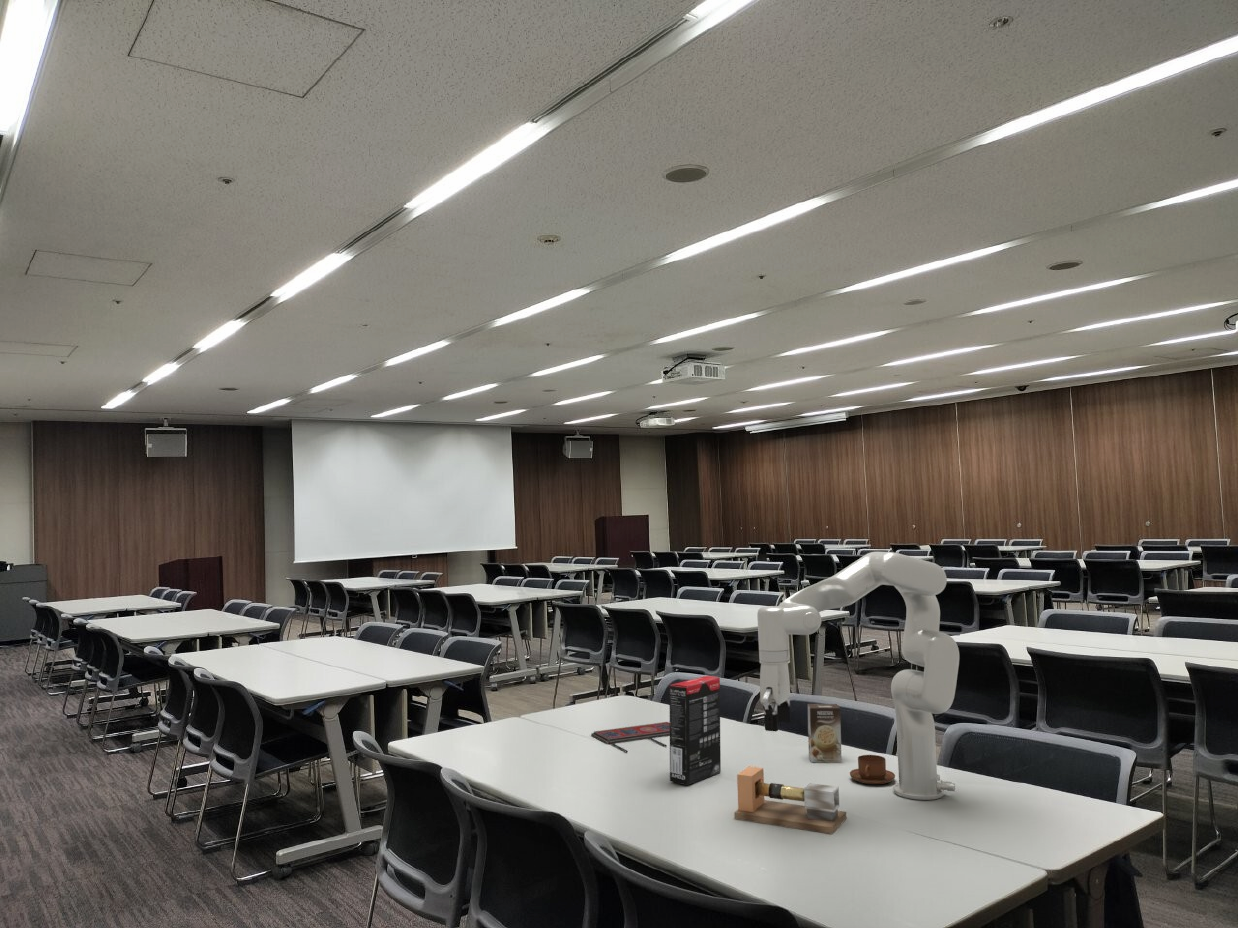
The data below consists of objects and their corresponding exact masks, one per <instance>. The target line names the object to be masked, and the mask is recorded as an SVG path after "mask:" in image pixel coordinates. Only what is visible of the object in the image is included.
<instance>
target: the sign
mask: <svg viewBox="0 0 1238 928" xmlns="http://www.w3.org/2000/svg"><path fill="white" fill-rule="evenodd" d="M667 736H669V737H670V721H669V722H668V721H662V722H655V723H647V724H641V725H632V726H625V727H624V726H623V727H617V728H611V729H604V730H596V731H595V730H594V731H593V732H592V733H591V735H590V737H592V738H594V739H597V740H598V741H600V742H603V743H604V744H606V745H612V746H613V747H616V748H618V749H620V750H621V751H623V752H625V753H628V750H627V749H625V748H624V747H621V746H619V745H617V743H619V744H620V743H625V742H634V741H641V740H647V739H649V740H650V741H653V742H655V743H657V744H658V745H659V744H660V745H661V746H663V747H666V748H667V747H668V745H667V744H665V743H663V742H661V741H659V740H657V739H655V738H661V737H667Z"/></svg>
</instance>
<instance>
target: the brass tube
mask: <svg viewBox="0 0 1238 928" xmlns="http://www.w3.org/2000/svg"><path fill="white" fill-rule="evenodd" d="M804 788H805V787H796V786H789V785H785V784H783V783H776V782H771V783H767V782H764V783H760V782H755V795H760V796H764V797H769V798H770V799H777V800H782V801H783V800H789V801H796V802H804V803H805V799H804Z"/></svg>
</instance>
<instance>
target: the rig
mask: <svg viewBox="0 0 1238 928" xmlns="http://www.w3.org/2000/svg"><path fill="white" fill-rule="evenodd" d="M803 788H804V799H805V802H804V804H803V805H802V804H796V803H795V804H794V803H789V802H788V803H787V802H782V801H774V800H768V799H764V801H765V803H764V804H762V805H761V806H760V807H759V808H757V809H756V810H755V811H754V812H748V811H742V810H738V809H736V810H735V811H734V814H733V815H734V820H741V821H748V822H754V823H761V824H766V825H771V826H778V827H779V826H780V827H786V828H791V829H797V830H803V831H804V830H805V831H811V832H816V833H817V832H818V833H822V834H829V835H833V834H834V833H835V832H836V830H837V829H839V827H840V826H841V825H842V824H843V823H844V822H845V820H847V811H843V810H838V809H839V808H840V787H839V786H835V785H827V784H821V783H814V782H809V783H808V784H807V785H806V786H805V787H803Z"/></svg>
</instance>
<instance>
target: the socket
mask: <svg viewBox="0 0 1238 928" xmlns="http://www.w3.org/2000/svg"><path fill="white" fill-rule="evenodd" d="M764 780H765V779H764V767H757V766H751V765H750V766H747V767H746V768H744V769H743V770H742V771H740V772H739V773H737V774H736V783H737V785H736V786H737V810H742V811H748V812H754V811H755V810H756V809H757V808H759V807H760V806H761V805H762V804H764V803H765V801H764V800H765V796H760V795H755V782H760V783H765V781H764Z"/></svg>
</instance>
